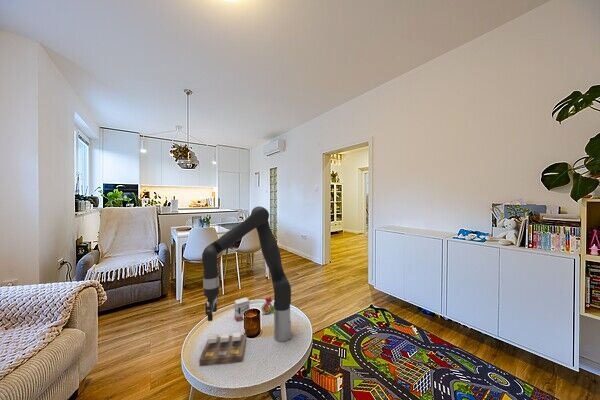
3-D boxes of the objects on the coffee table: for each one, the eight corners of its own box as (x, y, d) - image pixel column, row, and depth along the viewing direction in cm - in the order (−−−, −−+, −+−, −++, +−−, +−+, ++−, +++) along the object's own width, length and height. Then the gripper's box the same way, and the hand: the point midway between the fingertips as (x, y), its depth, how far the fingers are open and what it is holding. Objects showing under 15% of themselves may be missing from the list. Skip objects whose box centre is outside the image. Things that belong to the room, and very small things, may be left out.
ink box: (237, 322, 142) (236, 303, 142) (234, 318, 146) (234, 300, 146) (250, 317, 147) (249, 299, 146) (247, 314, 151) (246, 296, 150)
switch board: (246, 339, 125) (246, 333, 125) (242, 361, 110) (242, 355, 109) (208, 343, 123) (208, 337, 123) (199, 366, 107) (199, 359, 107)
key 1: (218, 337, 119) (218, 333, 119) (216, 342, 116) (216, 338, 115) (210, 338, 119) (210, 334, 119) (208, 343, 115) (208, 339, 115)
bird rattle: (267, 319, 148) (278, 310, 152) (260, 306, 145) (272, 297, 149) (264, 315, 153) (275, 306, 157) (257, 302, 151) (269, 293, 155)
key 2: (241, 335, 121) (241, 331, 121) (240, 340, 117) (240, 336, 117) (233, 336, 120) (233, 332, 120) (232, 341, 116) (232, 337, 116)
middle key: (229, 336, 120) (229, 332, 120) (228, 341, 116) (228, 337, 116) (222, 337, 120) (222, 333, 120) (220, 342, 116) (220, 338, 116)
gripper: (215, 291, 109) (216, 323, 110) (222, 279, 123) (223, 308, 124) (199, 292, 109) (200, 324, 109) (207, 280, 123) (208, 309, 124)
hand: (212, 315), depth 117 cm, fingers open, 8 cm apart
